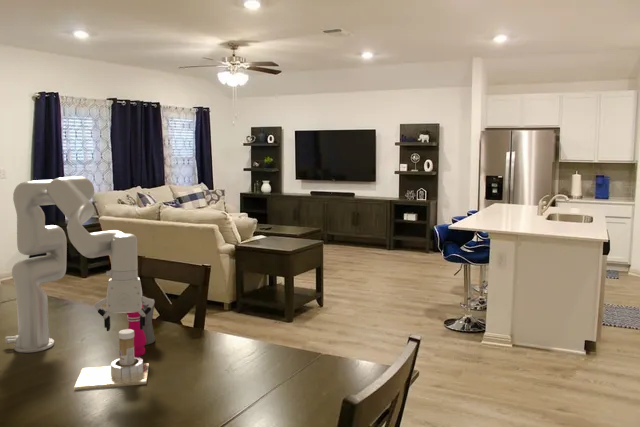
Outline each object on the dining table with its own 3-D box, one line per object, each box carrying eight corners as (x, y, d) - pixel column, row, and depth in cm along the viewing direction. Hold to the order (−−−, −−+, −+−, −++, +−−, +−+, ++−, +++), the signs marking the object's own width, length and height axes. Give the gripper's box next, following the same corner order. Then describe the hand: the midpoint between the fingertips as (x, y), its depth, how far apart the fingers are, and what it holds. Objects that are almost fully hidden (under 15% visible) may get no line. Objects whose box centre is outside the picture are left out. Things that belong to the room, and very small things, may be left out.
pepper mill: (139, 358, 183) (138, 300, 181) (120, 356, 184) (118, 299, 182) (150, 350, 190) (149, 295, 188) (131, 348, 191) (130, 293, 189)
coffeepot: (163, 343, 198) (162, 294, 196) (138, 349, 191) (137, 299, 189) (143, 332, 209) (142, 286, 207) (119, 337, 202) (118, 290, 200)
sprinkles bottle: (116, 373, 168) (115, 331, 167) (130, 368, 172) (129, 327, 170) (124, 377, 165) (123, 334, 164) (137, 372, 169) (137, 330, 167)
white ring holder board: (74, 390, 158) (73, 375, 158) (82, 371, 172) (82, 357, 171) (146, 383, 163) (146, 369, 163) (148, 365, 177) (148, 352, 176)
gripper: (92, 278, 159) (93, 334, 161) (153, 276, 163) (153, 331, 166) (95, 272, 166) (96, 326, 169) (154, 271, 171) (155, 323, 173)
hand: (125, 328), depth 167 cm, fingers open, 9 cm apart
